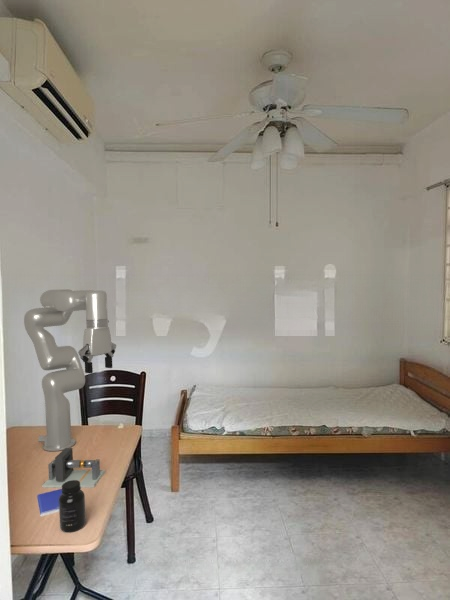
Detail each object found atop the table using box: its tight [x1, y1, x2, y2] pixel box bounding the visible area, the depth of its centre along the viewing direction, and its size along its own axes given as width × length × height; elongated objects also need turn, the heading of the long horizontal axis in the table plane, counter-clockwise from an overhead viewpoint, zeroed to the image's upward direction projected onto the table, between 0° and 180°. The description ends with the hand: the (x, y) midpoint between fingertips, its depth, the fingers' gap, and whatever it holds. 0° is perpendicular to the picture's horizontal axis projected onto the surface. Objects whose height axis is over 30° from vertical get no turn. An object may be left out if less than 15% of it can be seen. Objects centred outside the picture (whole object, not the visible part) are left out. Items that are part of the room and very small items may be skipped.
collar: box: [54, 447, 74, 481], centre depth 141 cm, size 2×8×8 cm, turn 177°
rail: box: [47, 458, 101, 480], centre depth 140 cm, size 16×4×6 cm, turn 87°
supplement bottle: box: [58, 480, 87, 533], centre depth 113 cm, size 7×7×12 cm
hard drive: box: [36, 488, 62, 517], centre depth 126 cm, size 2×8×12 cm
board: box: [41, 469, 106, 489], centre depth 141 cm, size 18×11×1 cm, turn 87°
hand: (99, 370), depth 149 cm, fingers open, 9 cm apart
